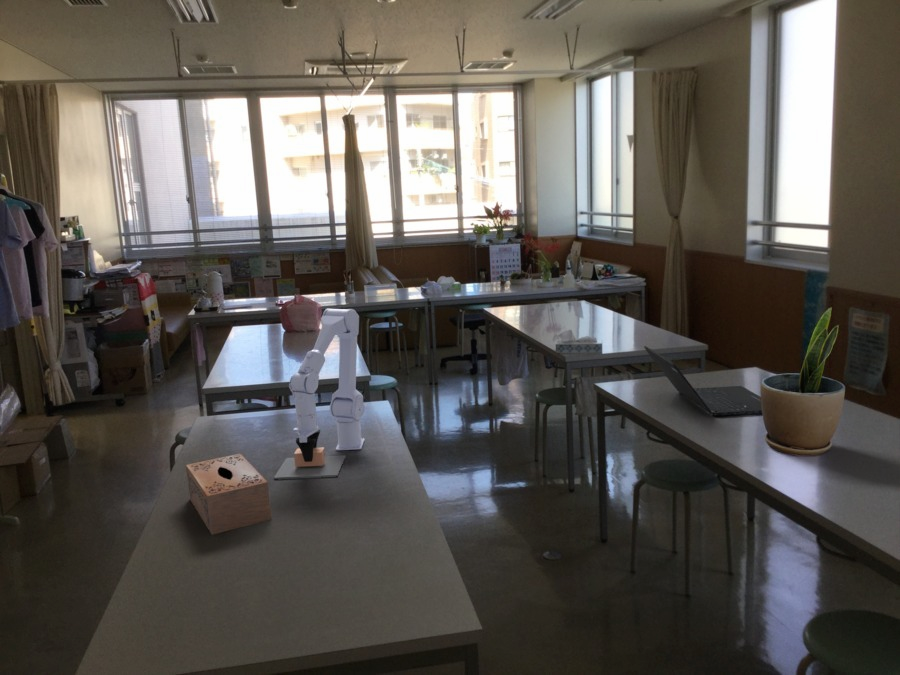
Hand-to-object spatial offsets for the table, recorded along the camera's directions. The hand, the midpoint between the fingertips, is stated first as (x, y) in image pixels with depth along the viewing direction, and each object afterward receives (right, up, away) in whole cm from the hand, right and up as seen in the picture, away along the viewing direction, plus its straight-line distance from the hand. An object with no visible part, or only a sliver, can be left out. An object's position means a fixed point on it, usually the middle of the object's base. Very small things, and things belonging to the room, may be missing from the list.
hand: (310, 458), depth 214 cm
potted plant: (+142, +3, -2) cm, 142 cm away
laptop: (+133, +11, +45) cm, 141 cm away
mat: (0, -3, +1) cm, 3 cm away
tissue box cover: (-16, -9, -26) cm, 32 cm away
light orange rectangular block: (0, -2, 0) cm, 2 cm away
